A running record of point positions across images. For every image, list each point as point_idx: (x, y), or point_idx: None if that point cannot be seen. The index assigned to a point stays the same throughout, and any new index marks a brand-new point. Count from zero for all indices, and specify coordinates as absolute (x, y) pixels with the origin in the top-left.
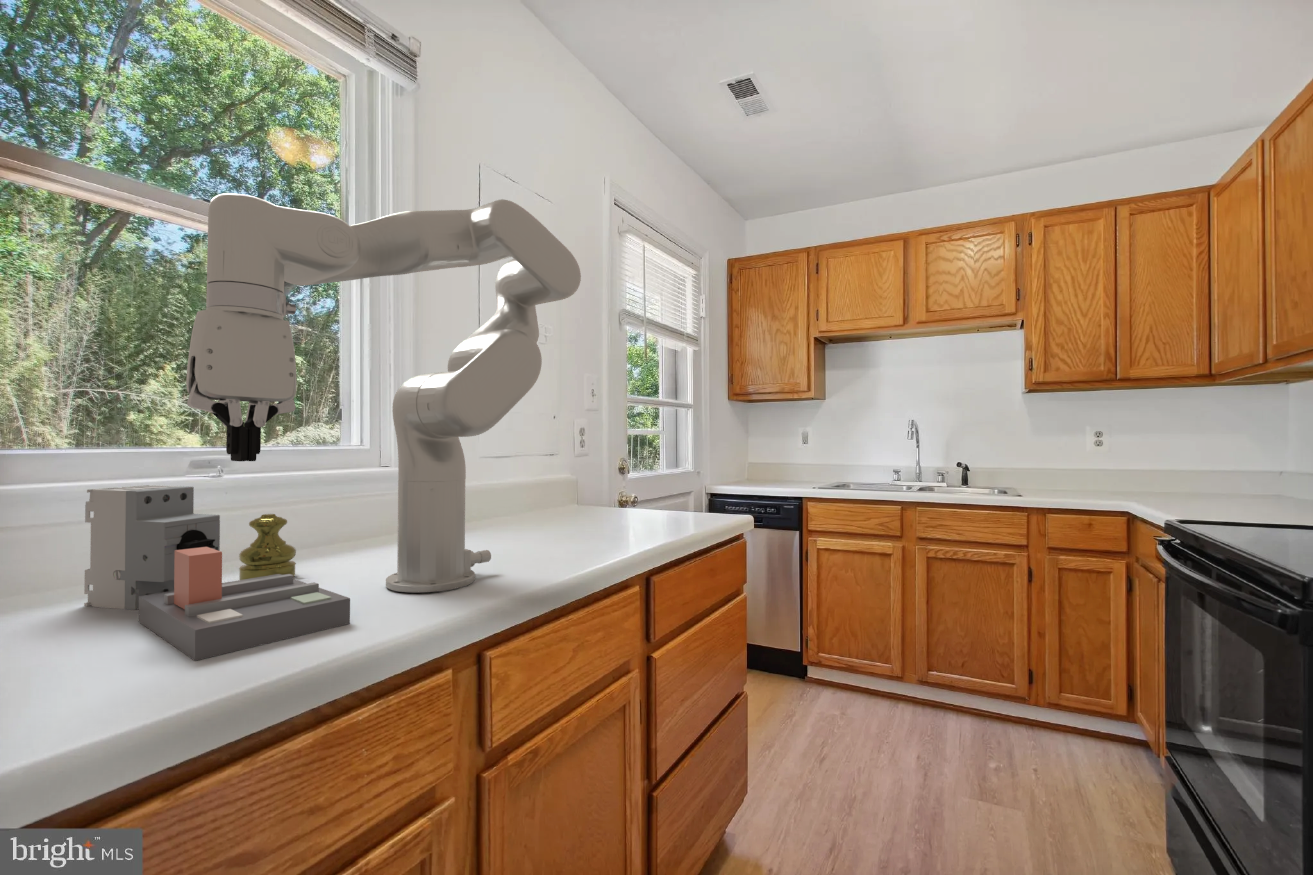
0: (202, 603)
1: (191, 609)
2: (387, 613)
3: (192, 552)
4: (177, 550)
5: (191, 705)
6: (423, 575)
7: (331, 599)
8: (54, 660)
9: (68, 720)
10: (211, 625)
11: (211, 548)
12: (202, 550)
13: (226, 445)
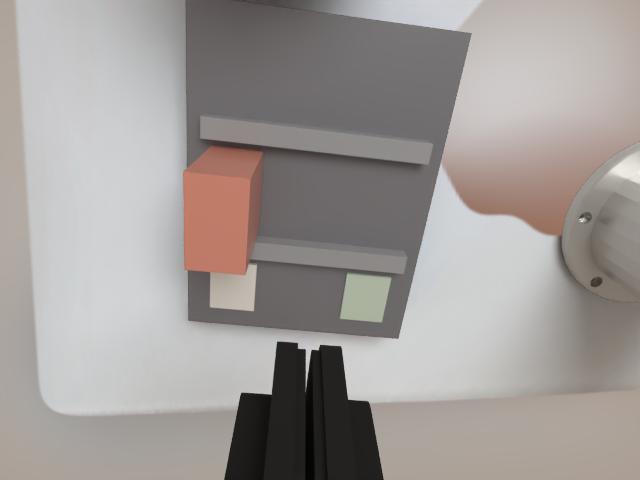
0: None
1: None
2: (452, 314)
3: (202, 233)
4: (187, 177)
5: (159, 405)
6: (605, 270)
7: (378, 324)
8: (70, 143)
9: (75, 361)
10: (210, 316)
11: (247, 215)
12: (225, 225)
13: (236, 417)
